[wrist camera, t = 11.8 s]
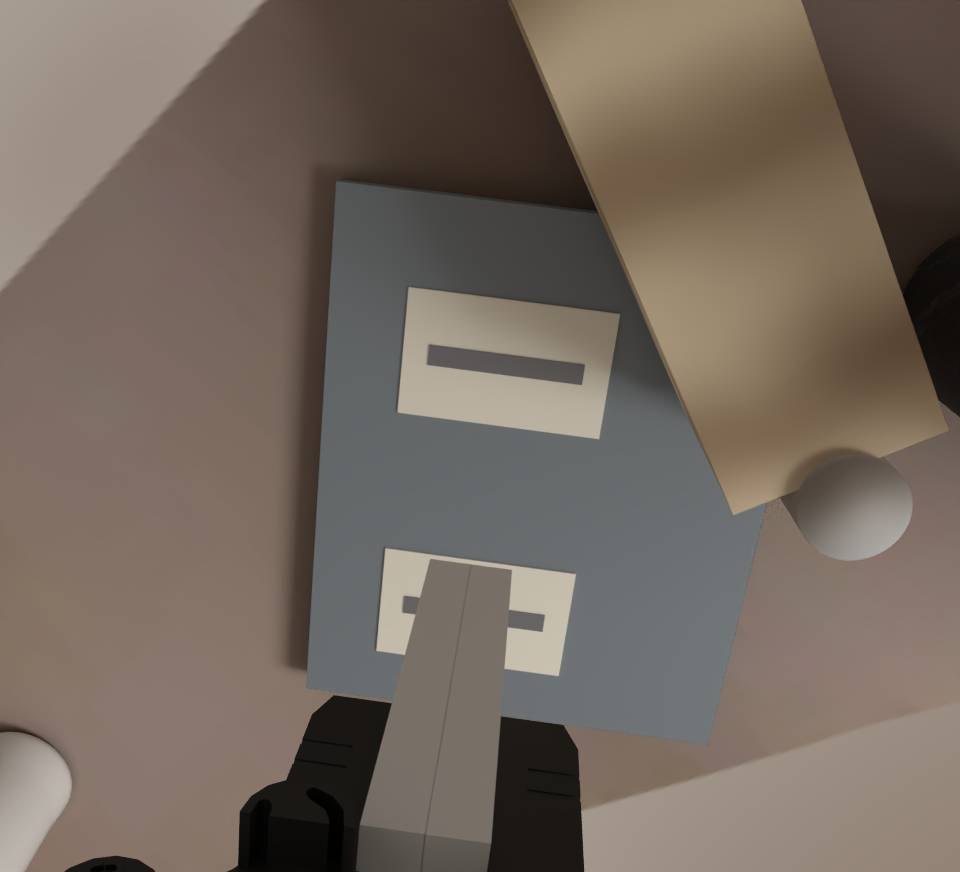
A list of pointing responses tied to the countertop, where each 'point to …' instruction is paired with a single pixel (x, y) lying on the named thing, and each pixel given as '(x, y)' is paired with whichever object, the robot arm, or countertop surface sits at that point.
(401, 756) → the robot arm
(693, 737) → the label board
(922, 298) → the travel mug
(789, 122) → the tan wooden block
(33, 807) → the drinking glass
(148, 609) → the countertop surface
